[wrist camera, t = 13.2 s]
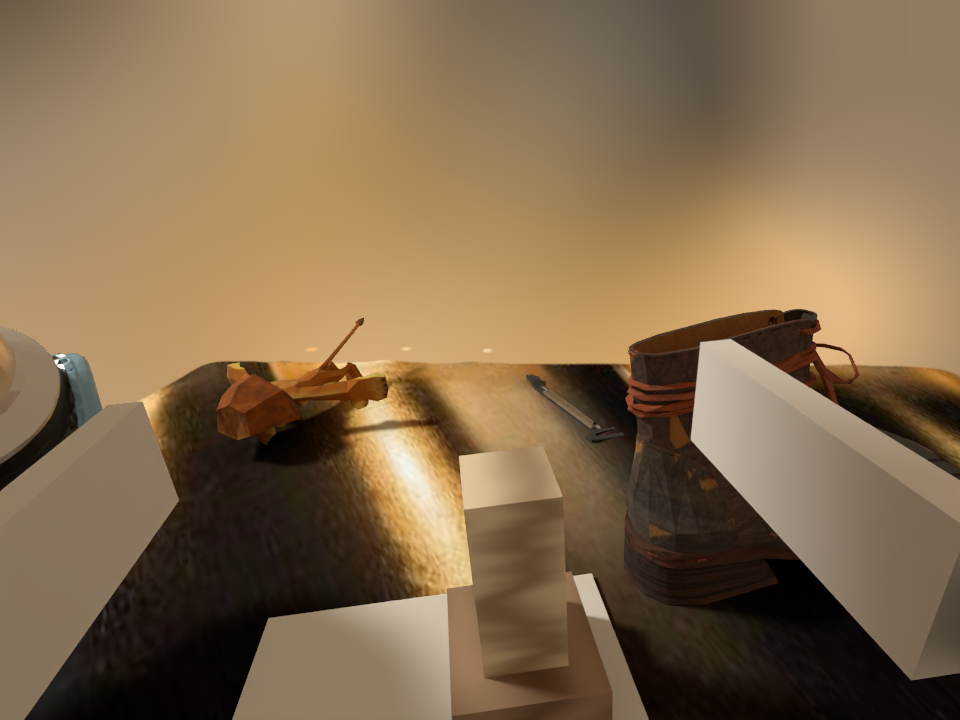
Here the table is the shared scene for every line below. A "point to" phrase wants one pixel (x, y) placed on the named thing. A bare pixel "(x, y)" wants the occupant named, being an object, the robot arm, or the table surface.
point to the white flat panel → (388, 663)
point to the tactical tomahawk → (572, 411)
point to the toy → (290, 396)
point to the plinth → (528, 695)
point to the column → (516, 559)
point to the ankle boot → (702, 464)
